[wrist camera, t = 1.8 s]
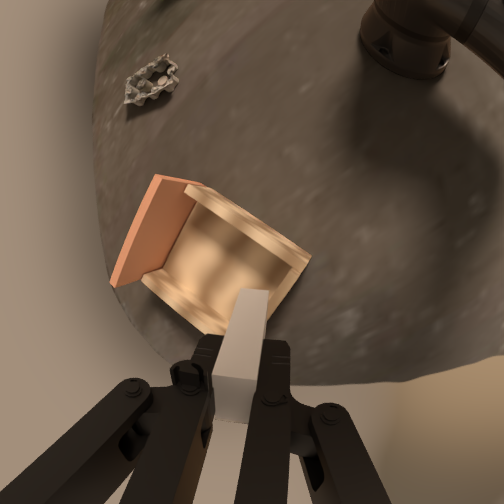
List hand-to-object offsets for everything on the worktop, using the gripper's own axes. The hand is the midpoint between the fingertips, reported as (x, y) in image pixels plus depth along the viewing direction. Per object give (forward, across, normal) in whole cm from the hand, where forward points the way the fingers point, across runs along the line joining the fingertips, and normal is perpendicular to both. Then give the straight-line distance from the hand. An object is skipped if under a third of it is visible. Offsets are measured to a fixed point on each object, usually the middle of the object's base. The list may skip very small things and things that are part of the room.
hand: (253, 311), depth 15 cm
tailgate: (+27, -14, -3) cm, 31 cm away
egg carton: (+35, -23, +22) cm, 47 cm away
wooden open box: (+25, -6, -8) cm, 27 cm away
